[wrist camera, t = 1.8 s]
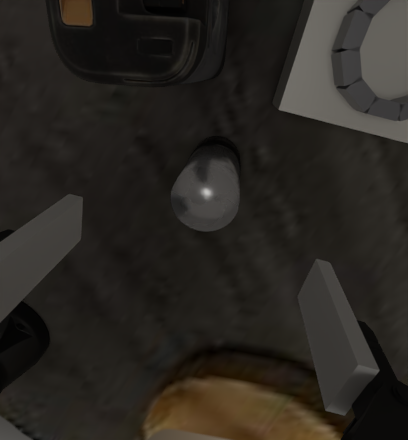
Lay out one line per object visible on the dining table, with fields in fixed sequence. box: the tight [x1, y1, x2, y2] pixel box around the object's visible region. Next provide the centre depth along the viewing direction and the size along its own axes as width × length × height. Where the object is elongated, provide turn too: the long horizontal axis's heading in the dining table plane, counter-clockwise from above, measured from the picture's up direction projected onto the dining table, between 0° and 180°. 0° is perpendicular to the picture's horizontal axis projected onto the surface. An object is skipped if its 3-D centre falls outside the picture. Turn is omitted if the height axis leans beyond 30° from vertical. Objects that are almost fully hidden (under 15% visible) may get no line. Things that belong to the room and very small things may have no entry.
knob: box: [171, 136, 240, 231], centre depth 28 cm, size 5×5×12 cm
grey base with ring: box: [272, 0, 408, 143], centre depth 23 cm, size 14×12×9 cm
